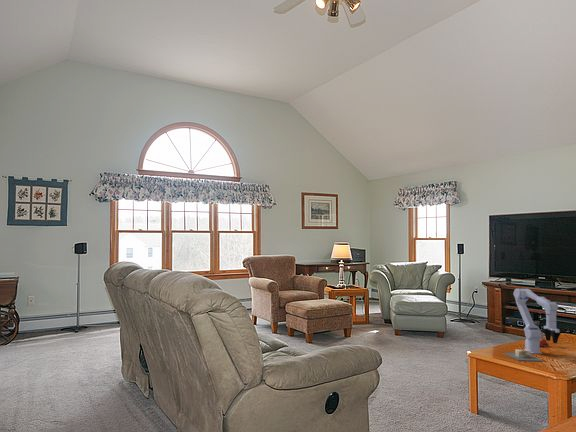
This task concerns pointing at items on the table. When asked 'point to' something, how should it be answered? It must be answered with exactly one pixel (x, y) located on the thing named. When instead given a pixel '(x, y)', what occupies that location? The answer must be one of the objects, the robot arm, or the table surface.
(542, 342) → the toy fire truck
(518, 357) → the charcoal rubber mat
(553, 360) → the table surface
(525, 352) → the birch card box
